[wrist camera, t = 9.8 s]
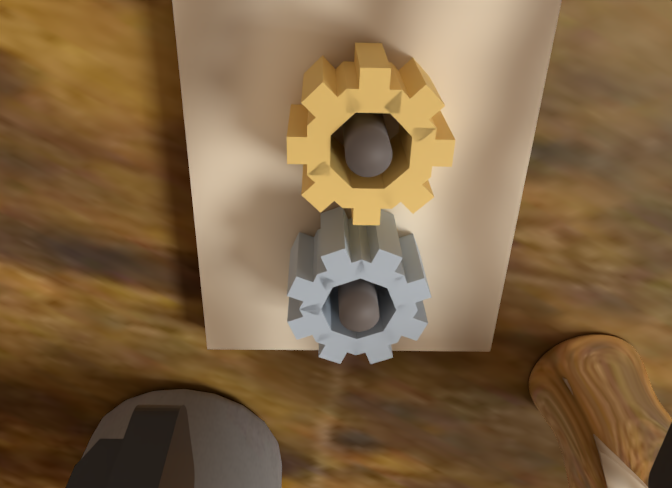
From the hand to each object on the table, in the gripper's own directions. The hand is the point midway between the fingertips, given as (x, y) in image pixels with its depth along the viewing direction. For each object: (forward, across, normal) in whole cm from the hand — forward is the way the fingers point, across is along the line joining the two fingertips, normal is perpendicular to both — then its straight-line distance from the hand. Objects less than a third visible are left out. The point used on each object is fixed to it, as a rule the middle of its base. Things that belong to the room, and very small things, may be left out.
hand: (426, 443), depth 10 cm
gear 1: (+16, 0, 0) cm, 16 cm away
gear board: (+18, 0, +1) cm, 18 cm away
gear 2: (+16, 0, +7) cm, 18 cm away
